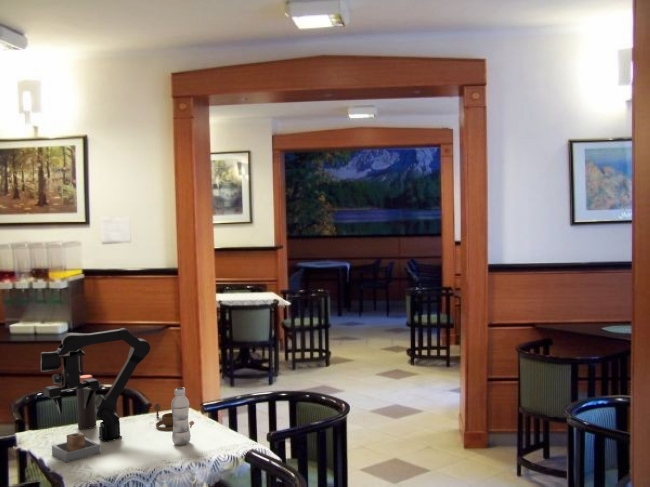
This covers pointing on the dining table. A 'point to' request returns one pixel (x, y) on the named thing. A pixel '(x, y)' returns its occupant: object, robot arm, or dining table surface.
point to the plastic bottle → (180, 417)
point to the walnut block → (75, 441)
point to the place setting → (165, 420)
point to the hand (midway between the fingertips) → (73, 411)
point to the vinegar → (86, 415)
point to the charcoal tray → (62, 453)
